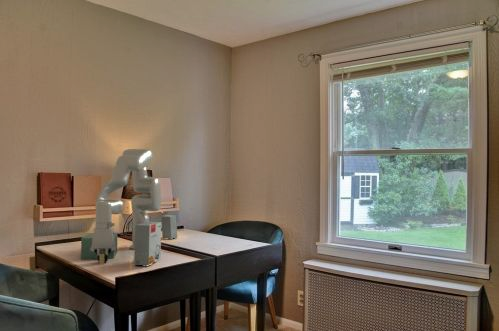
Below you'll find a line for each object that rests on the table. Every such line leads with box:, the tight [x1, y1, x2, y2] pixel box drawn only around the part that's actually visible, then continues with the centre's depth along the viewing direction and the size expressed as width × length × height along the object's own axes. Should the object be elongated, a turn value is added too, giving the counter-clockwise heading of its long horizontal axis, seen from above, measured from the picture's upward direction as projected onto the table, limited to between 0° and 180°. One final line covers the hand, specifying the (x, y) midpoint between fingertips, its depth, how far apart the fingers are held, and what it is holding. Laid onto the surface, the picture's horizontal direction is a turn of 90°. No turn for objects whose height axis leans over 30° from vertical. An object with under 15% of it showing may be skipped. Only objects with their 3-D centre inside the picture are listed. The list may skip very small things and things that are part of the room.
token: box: [98, 251, 106, 265], centre depth 198 cm, size 2×6×5 cm, turn 12°
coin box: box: [80, 232, 119, 260], centre depth 214 cm, size 16×16×11 cm
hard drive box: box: [133, 221, 162, 265], centre depth 199 cm, size 16×8×20 cm, turn 170°
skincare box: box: [161, 214, 178, 240], centre depth 269 cm, size 8×7×16 cm
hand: (102, 262), depth 198 cm, fingers closed on token, 2 cm apart
